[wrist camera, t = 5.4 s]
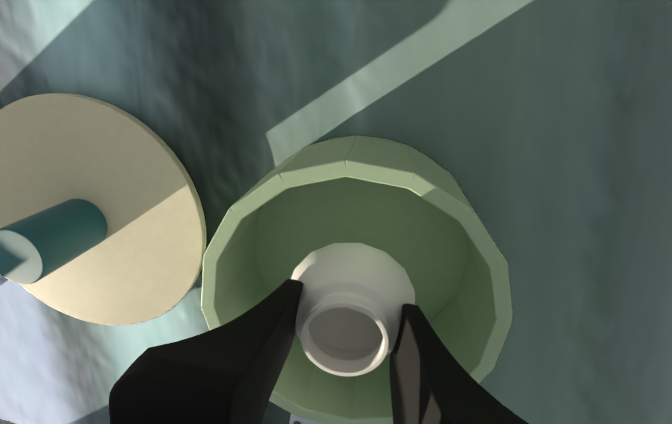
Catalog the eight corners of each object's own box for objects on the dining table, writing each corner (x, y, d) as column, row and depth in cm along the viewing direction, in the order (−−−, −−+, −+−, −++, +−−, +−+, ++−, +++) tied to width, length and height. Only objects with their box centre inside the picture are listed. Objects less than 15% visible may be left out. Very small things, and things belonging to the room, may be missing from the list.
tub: (441, 363, 22) (459, 455, 16) (239, 320, 22) (195, 395, 17) (509, 161, 17) (561, 199, 12) (258, 114, 18) (208, 132, 13)
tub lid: (206, 334, 23) (159, 403, 18) (5, 290, 23) (-91, 346, 19) (218, 118, 18) (159, 135, 14) (-31, 71, 19) (-171, 71, 14)
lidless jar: (269, 264, 16) (324, 357, 17) (245, 305, 13) (312, 413, 14) (383, 219, 15) (432, 323, 16) (382, 254, 12) (442, 376, 13)
